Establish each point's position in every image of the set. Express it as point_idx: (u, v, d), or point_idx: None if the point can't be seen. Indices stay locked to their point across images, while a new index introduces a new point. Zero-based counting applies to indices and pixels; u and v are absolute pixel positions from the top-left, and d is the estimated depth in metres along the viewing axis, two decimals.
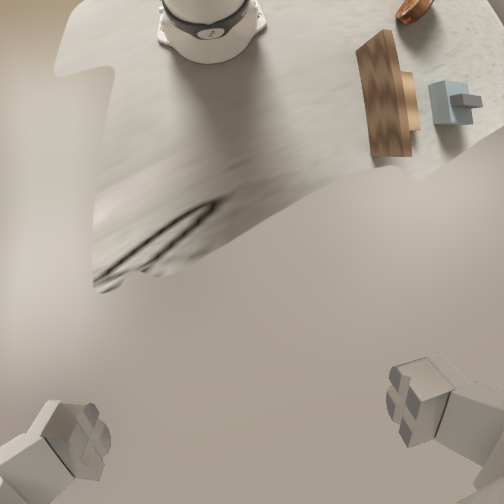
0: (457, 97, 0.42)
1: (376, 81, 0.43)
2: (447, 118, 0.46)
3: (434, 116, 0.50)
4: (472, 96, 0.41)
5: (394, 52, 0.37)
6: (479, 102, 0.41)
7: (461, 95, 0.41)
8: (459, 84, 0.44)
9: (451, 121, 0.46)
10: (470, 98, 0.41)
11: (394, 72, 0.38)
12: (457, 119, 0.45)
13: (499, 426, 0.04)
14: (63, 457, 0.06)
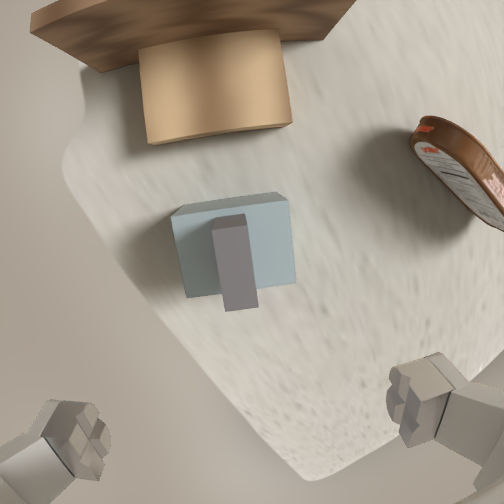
0: (237, 221, 0.19)
1: None
2: (183, 212, 0.22)
3: (199, 203, 0.26)
4: (248, 270, 0.18)
5: None
6: (236, 299, 0.19)
7: (241, 224, 0.18)
8: (288, 254, 0.22)
9: (173, 219, 0.21)
10: (240, 260, 0.18)
11: None
12: (184, 239, 0.22)
13: (499, 427, 0.04)
14: (63, 457, 0.06)
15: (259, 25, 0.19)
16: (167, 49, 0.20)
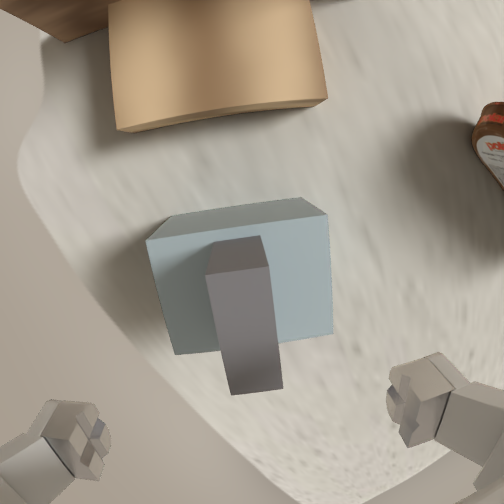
0: (250, 253, 0.11)
1: None
2: (167, 232, 0.15)
3: (193, 213, 0.19)
4: (269, 338, 0.11)
5: None
6: (248, 379, 0.11)
7: (257, 264, 0.10)
8: (324, 295, 0.15)
9: (150, 244, 0.14)
10: (256, 324, 0.11)
11: None
12: (168, 274, 0.14)
13: (499, 427, 0.04)
14: (63, 457, 0.06)
15: None
16: (147, 0, 0.13)
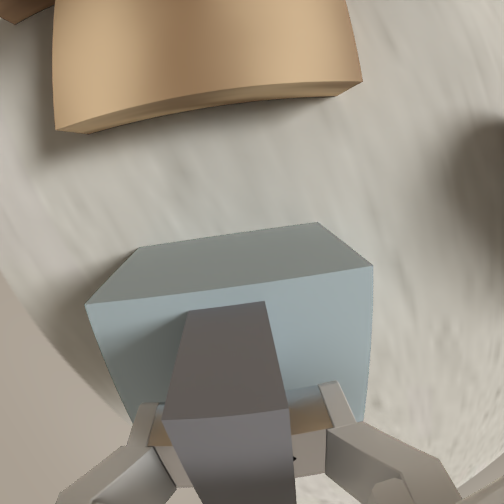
0: (248, 358, 0.06)
1: None
2: (119, 287, 0.09)
3: (167, 247, 0.13)
4: (282, 490, 0.05)
5: None
6: None
7: (265, 398, 0.05)
8: (357, 378, 0.09)
9: (92, 309, 0.08)
10: (261, 478, 0.05)
11: None
12: (122, 353, 0.09)
13: (381, 479, 0.04)
14: (173, 466, 0.06)
15: None
16: None
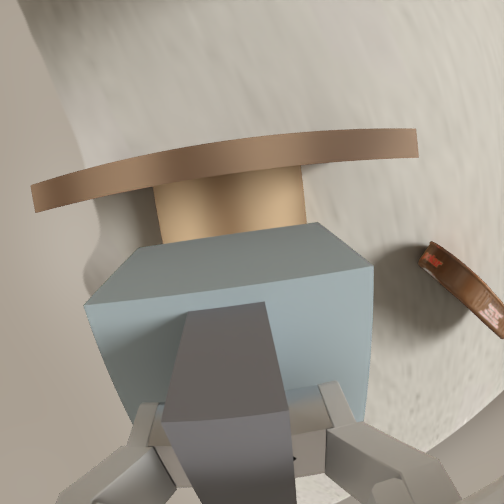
0: (248, 359, 0.06)
1: None
2: (118, 287, 0.09)
3: (166, 247, 0.13)
4: (282, 491, 0.05)
5: (350, 152, 0.14)
6: None
7: (265, 400, 0.05)
8: (357, 378, 0.09)
9: (92, 310, 0.08)
10: (260, 480, 0.05)
11: (278, 143, 0.14)
12: (122, 354, 0.08)
13: (381, 479, 0.04)
14: (173, 466, 0.06)
15: None
16: (183, 184, 0.23)
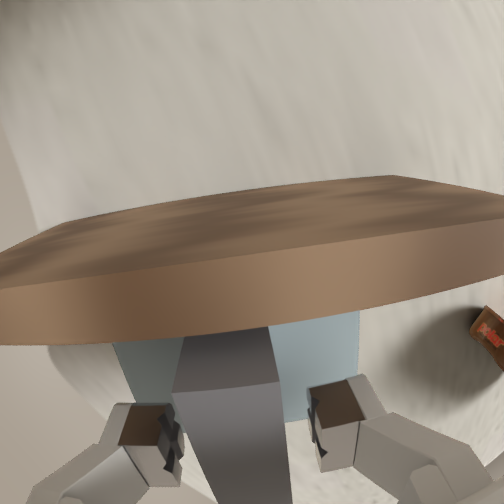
0: (246, 341, 0.07)
1: (290, 201, 0.11)
2: None
3: None
4: (276, 463, 0.06)
5: (479, 266, 0.06)
6: (246, 499, 0.07)
7: (259, 373, 0.06)
8: (347, 366, 0.10)
9: None
10: (257, 450, 0.06)
11: (356, 258, 0.06)
12: (132, 343, 0.10)
13: (414, 467, 0.04)
14: (143, 466, 0.06)
15: None
16: None
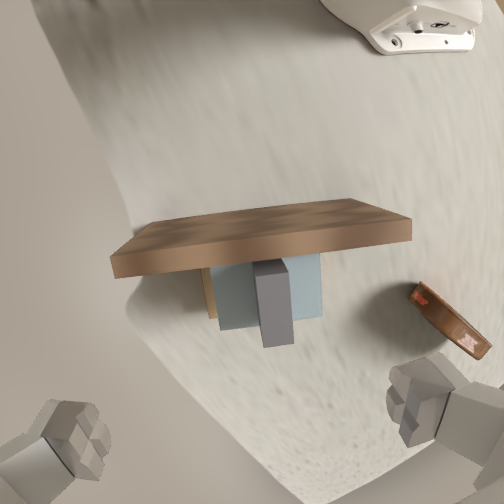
0: (276, 265, 0.21)
1: (290, 215, 0.25)
2: None
3: None
4: (287, 311, 0.20)
5: (362, 241, 0.20)
6: (274, 337, 0.20)
7: (282, 271, 0.19)
8: (316, 290, 0.24)
9: None
10: (280, 303, 0.20)
11: (312, 236, 0.20)
12: (221, 277, 0.23)
13: (499, 427, 0.04)
14: (63, 457, 0.06)
15: None
16: None
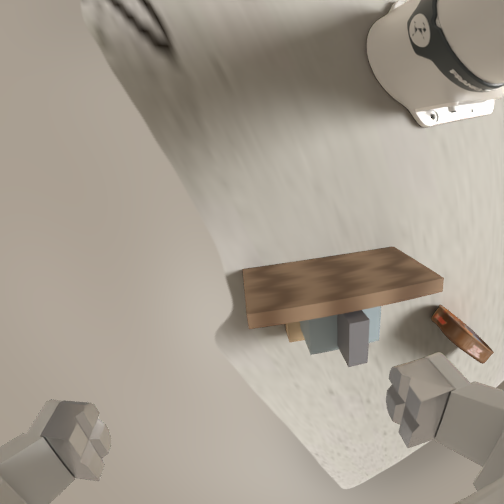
0: (358, 313, 0.29)
1: (359, 271, 0.34)
2: None
3: None
4: (365, 343, 0.28)
5: (412, 295, 0.28)
6: (356, 359, 0.29)
7: (365, 318, 0.28)
8: (377, 323, 0.33)
9: None
10: (362, 338, 0.28)
11: (383, 294, 0.28)
12: (315, 319, 0.32)
13: (499, 427, 0.04)
14: (63, 457, 0.06)
15: None
16: None
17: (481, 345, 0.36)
